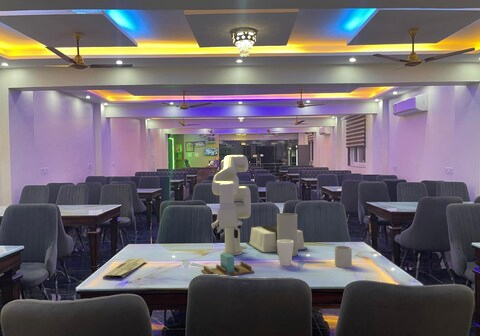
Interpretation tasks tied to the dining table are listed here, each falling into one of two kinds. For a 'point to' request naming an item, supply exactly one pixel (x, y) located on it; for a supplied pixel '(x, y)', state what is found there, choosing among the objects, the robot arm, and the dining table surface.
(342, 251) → the mug
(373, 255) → the dining table surface
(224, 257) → the block
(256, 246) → the cake box
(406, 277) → the dining table surface
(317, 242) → the dining table surface
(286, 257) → the foam cup
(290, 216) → the cylinder vase
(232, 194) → the robot arm
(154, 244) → the dining table surface
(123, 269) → the newspaper
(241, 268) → the rack
